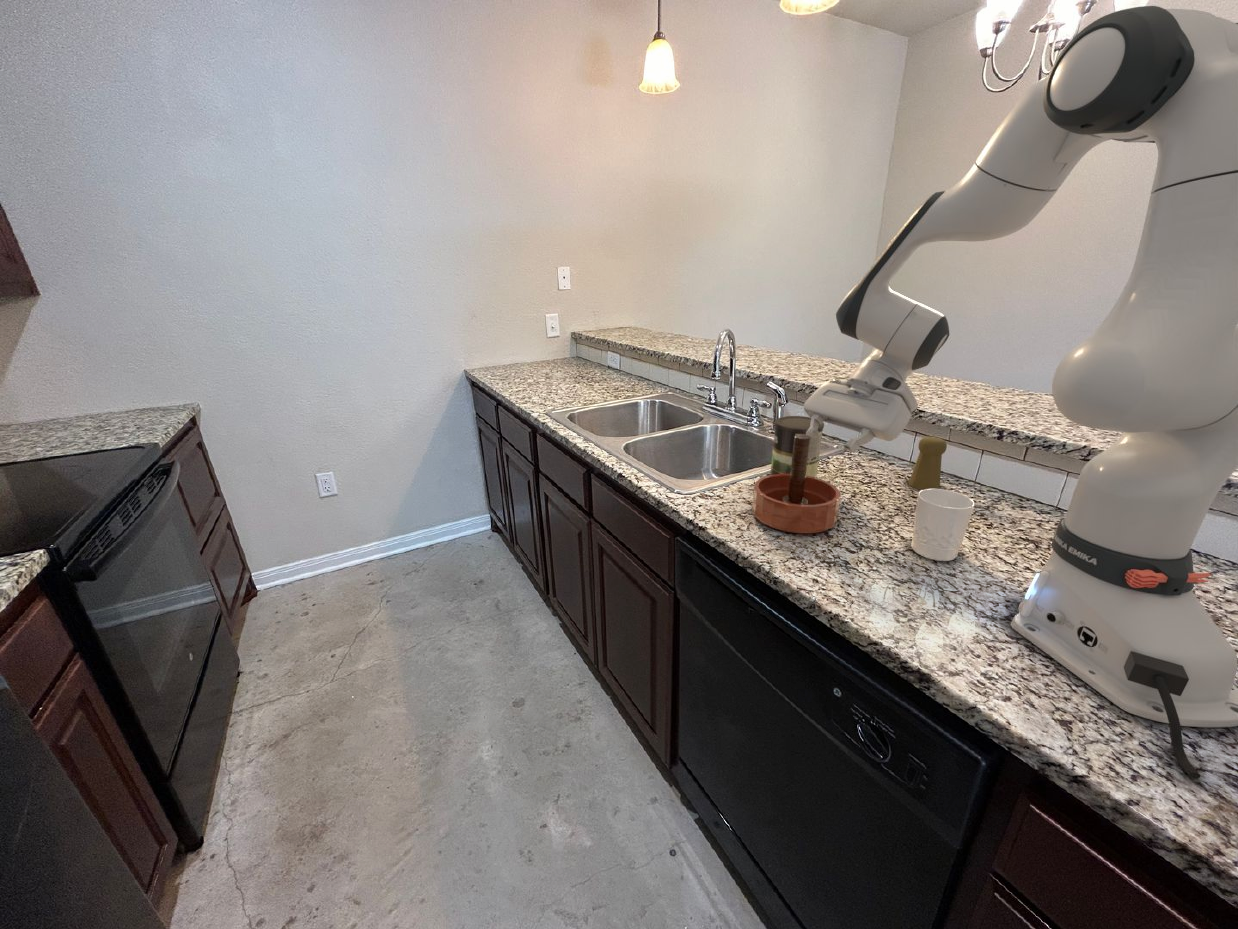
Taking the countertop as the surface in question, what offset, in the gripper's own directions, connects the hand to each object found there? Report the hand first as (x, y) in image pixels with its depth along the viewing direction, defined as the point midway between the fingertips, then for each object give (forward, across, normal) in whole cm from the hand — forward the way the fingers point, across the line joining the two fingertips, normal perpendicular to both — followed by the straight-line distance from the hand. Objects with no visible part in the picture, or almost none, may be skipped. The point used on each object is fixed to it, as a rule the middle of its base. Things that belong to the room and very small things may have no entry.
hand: (828, 442), depth 96 cm
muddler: (+14, 0, +5) cm, 15 cm away
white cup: (+7, +21, +13) cm, 26 cm away
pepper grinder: (-10, +2, +31) cm, 33 cm away
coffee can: (+6, -14, +14) cm, 21 cm away
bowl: (+15, 0, +5) cm, 16 cm away
